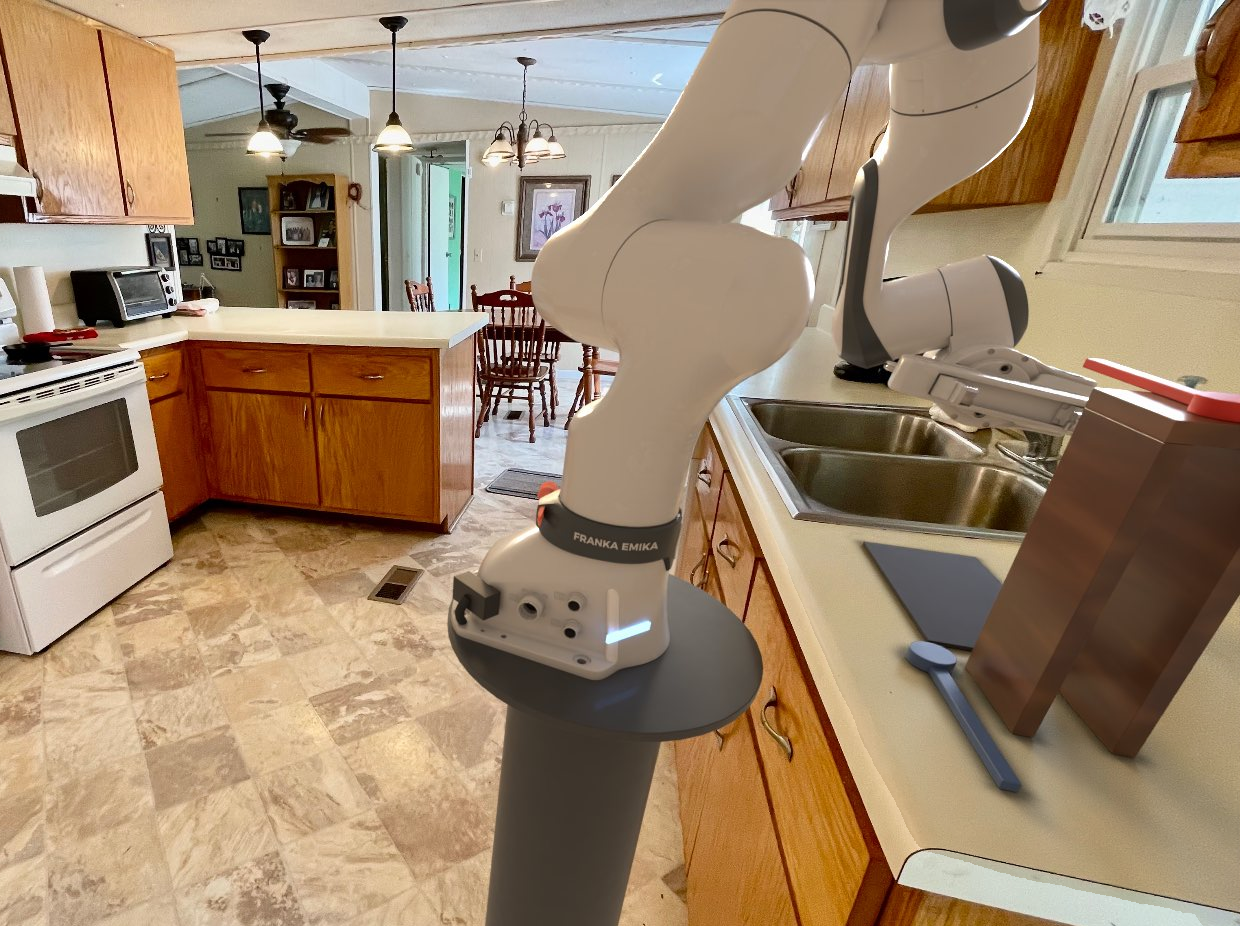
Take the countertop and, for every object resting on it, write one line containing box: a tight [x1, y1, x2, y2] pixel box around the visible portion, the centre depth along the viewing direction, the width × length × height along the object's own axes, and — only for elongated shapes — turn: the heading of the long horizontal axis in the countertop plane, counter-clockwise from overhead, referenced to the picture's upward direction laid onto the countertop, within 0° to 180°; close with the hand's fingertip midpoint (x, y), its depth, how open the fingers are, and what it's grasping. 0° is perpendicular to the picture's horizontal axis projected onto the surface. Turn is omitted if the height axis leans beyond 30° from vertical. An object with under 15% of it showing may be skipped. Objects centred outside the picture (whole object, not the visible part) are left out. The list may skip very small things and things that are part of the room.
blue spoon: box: [905, 640, 1023, 793], centre depth 55 cm, size 17×4×1 cm, turn 162°
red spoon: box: [1082, 357, 1240, 423], centre depth 48 cm, size 17×4×1 cm, turn 162°
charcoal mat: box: [862, 541, 1003, 652], centre depth 71 cm, size 12×22×1 cm, turn 163°
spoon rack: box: [964, 387, 1240, 759], centre depth 50 cm, size 8×9×26 cm
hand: (1023, 411), depth 63 cm, fingers open, 8 cm apart
